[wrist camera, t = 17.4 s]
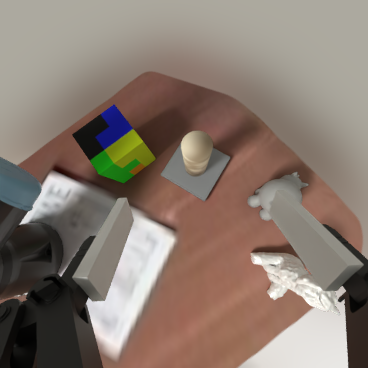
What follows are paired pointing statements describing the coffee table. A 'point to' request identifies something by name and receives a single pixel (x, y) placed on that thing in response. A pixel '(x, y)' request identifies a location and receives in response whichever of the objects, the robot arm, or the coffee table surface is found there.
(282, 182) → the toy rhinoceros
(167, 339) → the coffee table surface
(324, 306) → the sitting furry creature
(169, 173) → the board
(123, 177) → the puzzle toy
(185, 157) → the birch tool handle
